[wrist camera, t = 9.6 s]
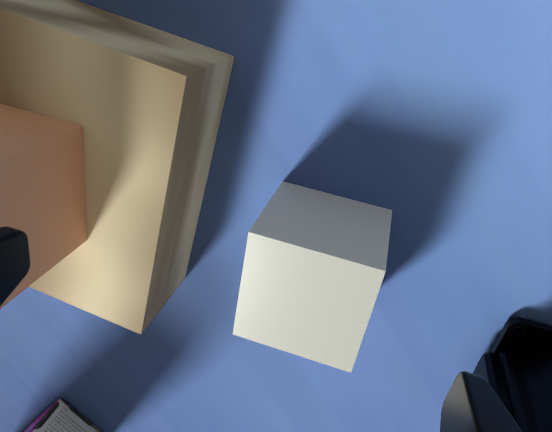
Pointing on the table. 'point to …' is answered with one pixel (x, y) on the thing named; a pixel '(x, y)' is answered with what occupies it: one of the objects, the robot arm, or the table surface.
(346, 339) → the white cube
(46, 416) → the candy bar box
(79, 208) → the terracotta cube
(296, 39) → the table surface
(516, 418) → the robot arm
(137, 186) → the maple block
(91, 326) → the table surface
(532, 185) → the table surface
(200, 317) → the table surface
